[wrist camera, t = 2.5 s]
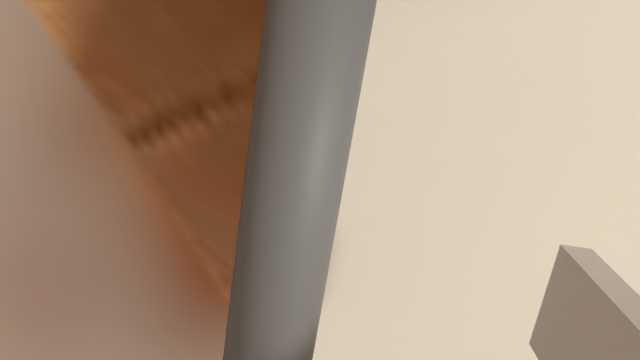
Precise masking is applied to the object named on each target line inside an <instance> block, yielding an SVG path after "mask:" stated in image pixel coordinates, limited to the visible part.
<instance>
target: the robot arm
mask: <svg viewBox="0 0 640 360" xmlns="http://www.w3.org/2000/svg"><path fill="white" fill-rule="evenodd" d="M529 345H530V346H531V348H532V350H533V351H534V353H535V355H536V356H537V358H538V360H640V296H639V295H638V294H637V293H636V292H635V291H634V290H633V289H632V288H631V287H630V286H629V285H628V284H627V283H626V282H625V281H624V280H623V279H622V278H621V277H620V276H619V275H618V274H617V273H616V272H615V271H614V270H613V269H612V268H611V267H610V266H609V265H608V264H607V263H606V262H605V261H604V260H603V259H602V258H601V257H600V256H599V255H597V254H596V253H595V252H594V251H593V250H592V249H590V248H582V247H575V246H568V245H561V244H560V247H559V250H558V253H557V257H556V260H555V263H554V266H553V269H552V272H551V276H550V279H549V282H548V285H547V288H546V291H545V294H544V298H543V301H542V304H541V307H540V310H539V313H538V317H537V320H536V323H535V326H534V329H533V332H532V336H531V339H530V342H529Z"/></svg>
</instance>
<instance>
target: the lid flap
mask: <svg viewBox="0 0 640 360" xmlns="http://www.w3.org/2000/svg"><path fill="white" fill-rule="evenodd" d="M560 244H561V245H568V246H575V247H582V248H590V249H592V250H593V251H594V252H595V253H596V254H597V255H599V256H600V257H601V258H602V259H603V260H604V261H605V262H606V263H607V264H608V265H609V266H610V267H611V268H612V269H613V270H614V271H615V272H616V273H617V274H618V275H619V276H620V277H621V278H622V279H623V280H624V281H625V282H626V283H627V284H628V285H629V286H630V287H631V288H632V289H633V290H634V291H635V292H636V293H637V294H638V295H639V296H640V0H266V7H265V15H264V23H263V32H262V40H261V48H260V57H259V65H258V73H257V81H256V90H255V98H254V106H253V115H252V123H251V131H250V139H249V148H248V156H247V164H246V172H245V181H244V189H243V197H242V206H241V214H240V222H239V230H238V239H237V247H236V255H235V264H234V272H233V280H232V288H231V297H230V305H229V313H228V322H227V330H226V338H225V347H224V355H223V360H538V358H537V356H536V355H535V353H534V351H533V350H532V348H531V346H530V345H529V342H530V339H531V336H532V332H533V329H534V326H535V323H536V320H537V317H538V313H539V310H540V307H541V304H542V301H543V298H544V294H545V291H546V288H547V285H548V282H549V279H550V276H551V272H552V269H553V266H554V263H555V260H556V257H557V253H558V250H559V247H560Z"/></svg>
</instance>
